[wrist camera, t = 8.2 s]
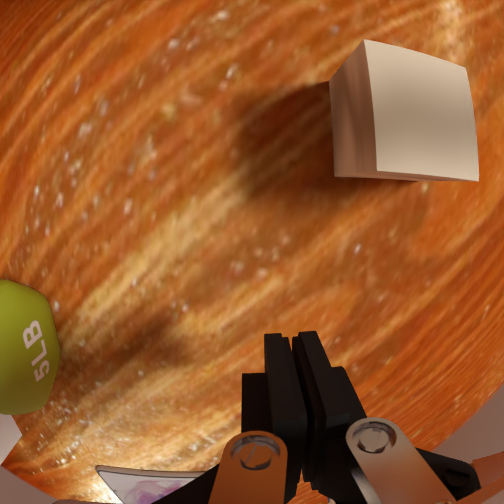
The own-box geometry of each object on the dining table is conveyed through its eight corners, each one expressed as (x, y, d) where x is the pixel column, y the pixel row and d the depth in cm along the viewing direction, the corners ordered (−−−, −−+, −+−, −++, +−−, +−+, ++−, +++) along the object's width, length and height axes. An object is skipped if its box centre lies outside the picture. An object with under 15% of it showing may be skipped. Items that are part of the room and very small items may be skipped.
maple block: (328, 81, 13) (363, 39, 8) (411, 94, 13) (465, 67, 8) (333, 176, 14) (376, 171, 9) (418, 181, 14) (478, 181, 9)
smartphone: (282, 508, 19) (126, 507, 19) (281, 501, 20) (127, 501, 20) (274, 469, 17) (92, 467, 17) (273, 461, 18) (94, 461, 18)
